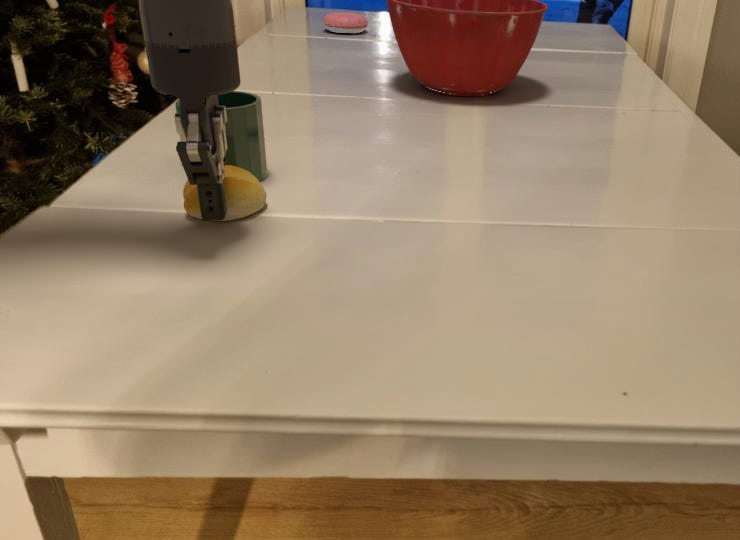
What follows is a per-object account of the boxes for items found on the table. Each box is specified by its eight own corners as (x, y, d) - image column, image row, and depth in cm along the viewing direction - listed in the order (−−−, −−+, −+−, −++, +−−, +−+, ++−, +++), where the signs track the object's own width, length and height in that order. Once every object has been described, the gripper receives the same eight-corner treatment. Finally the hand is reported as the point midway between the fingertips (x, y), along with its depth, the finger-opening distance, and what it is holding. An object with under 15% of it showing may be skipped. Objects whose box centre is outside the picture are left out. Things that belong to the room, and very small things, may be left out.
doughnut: (370, 29, 181) (370, 11, 179) (365, 36, 171) (364, 18, 169) (327, 26, 181) (326, 9, 179) (319, 34, 171) (318, 15, 169)
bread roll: (186, 227, 71) (180, 189, 69) (184, 195, 78) (179, 160, 76) (272, 219, 74) (269, 182, 72) (262, 189, 81) (259, 155, 79)
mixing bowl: (536, 75, 143) (544, -7, 136) (543, 113, 117) (553, 14, 110) (395, 67, 143) (396, -16, 136) (372, 102, 117) (371, 2, 110)
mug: (281, 172, 86) (276, 98, 82) (231, 193, 79) (222, 113, 75) (211, 154, 90) (202, 82, 86) (157, 171, 84) (145, 95, 80)
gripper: (160, 21, 67) (186, 194, 75) (125, 47, 56) (160, 247, 64) (243, 23, 69) (260, 192, 76) (226, 48, 57) (248, 244, 65)
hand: (214, 217), depth 70 cm, fingers closed
